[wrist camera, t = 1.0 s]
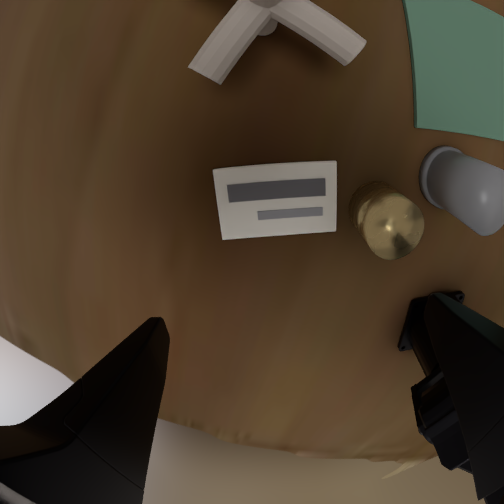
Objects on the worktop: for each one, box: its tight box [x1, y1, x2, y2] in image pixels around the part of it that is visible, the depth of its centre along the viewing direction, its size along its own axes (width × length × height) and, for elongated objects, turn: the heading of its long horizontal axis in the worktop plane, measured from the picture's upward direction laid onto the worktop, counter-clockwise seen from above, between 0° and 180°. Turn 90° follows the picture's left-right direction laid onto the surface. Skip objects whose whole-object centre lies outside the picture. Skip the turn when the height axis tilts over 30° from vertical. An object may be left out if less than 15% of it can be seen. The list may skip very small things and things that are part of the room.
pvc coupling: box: [419, 146, 504, 236], centre depth 16 cm, size 5×5×6 cm
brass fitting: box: [349, 181, 424, 260], centre depth 18 cm, size 4×4×4 cm
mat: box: [402, 0, 504, 141], centre depth 13 cm, size 12×12×1 cm
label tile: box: [213, 161, 337, 240], centre depth 19 cm, size 5×8×1 cm, turn 95°
